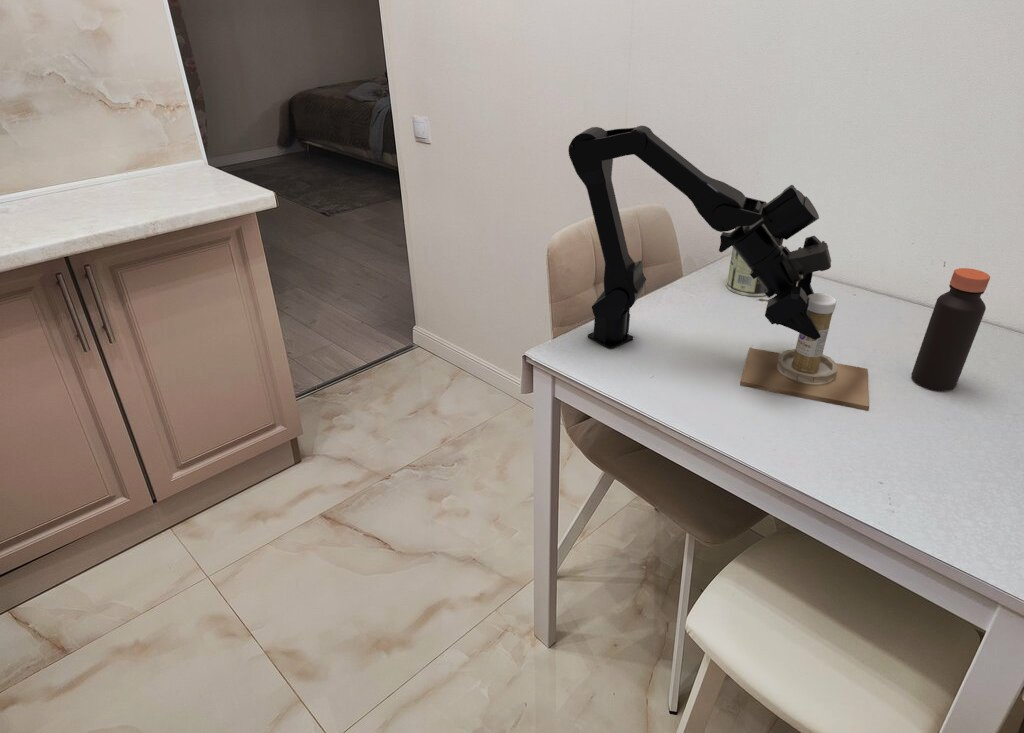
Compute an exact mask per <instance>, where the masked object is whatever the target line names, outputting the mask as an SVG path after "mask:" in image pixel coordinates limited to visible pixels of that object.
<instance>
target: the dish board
mask: <svg viewBox="0 0 1024 733" xmlns="http://www.w3.org/2000/svg"><path fill="white" fill-rule="evenodd" d="M795 351H796V348H795V349H787V350H784V351H783V352H775V351H771V350H764V349H760V348H759V349H758V348H753V347H749V349H748V352H747V356H746V360H745V364H744V368H743V371H742V374H741V378H740V381H739V382H740V383H739V386H742V387H747V388H752V389H757V390H762V391H768V392H774V393H777V394H783V395H788V396H792V397H798V398H801V399H807V400H813V401H817V402H823V403H828V404H832V405H837V406H844V407H849V408H853V409H857V410H862V411H869V409H870V390H869V369H868V368H866V367H859V366H854V365H850V364H849V365H848V364H842V363H838V362H837V363H836V362H835V360H833V359H832V358H831V357H829V356H828V355H825V354H822V356H821V360H820V364H819V370H818V371H817V372H815V373H802V372H799V371H797V370H795V369H794V368H793V367H792V361H793V359H794V355H795Z"/></svg>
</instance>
